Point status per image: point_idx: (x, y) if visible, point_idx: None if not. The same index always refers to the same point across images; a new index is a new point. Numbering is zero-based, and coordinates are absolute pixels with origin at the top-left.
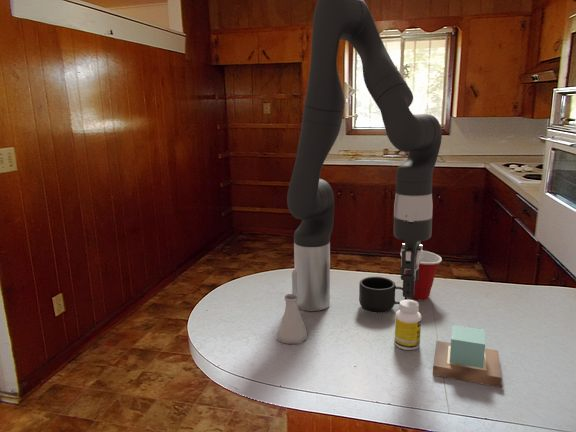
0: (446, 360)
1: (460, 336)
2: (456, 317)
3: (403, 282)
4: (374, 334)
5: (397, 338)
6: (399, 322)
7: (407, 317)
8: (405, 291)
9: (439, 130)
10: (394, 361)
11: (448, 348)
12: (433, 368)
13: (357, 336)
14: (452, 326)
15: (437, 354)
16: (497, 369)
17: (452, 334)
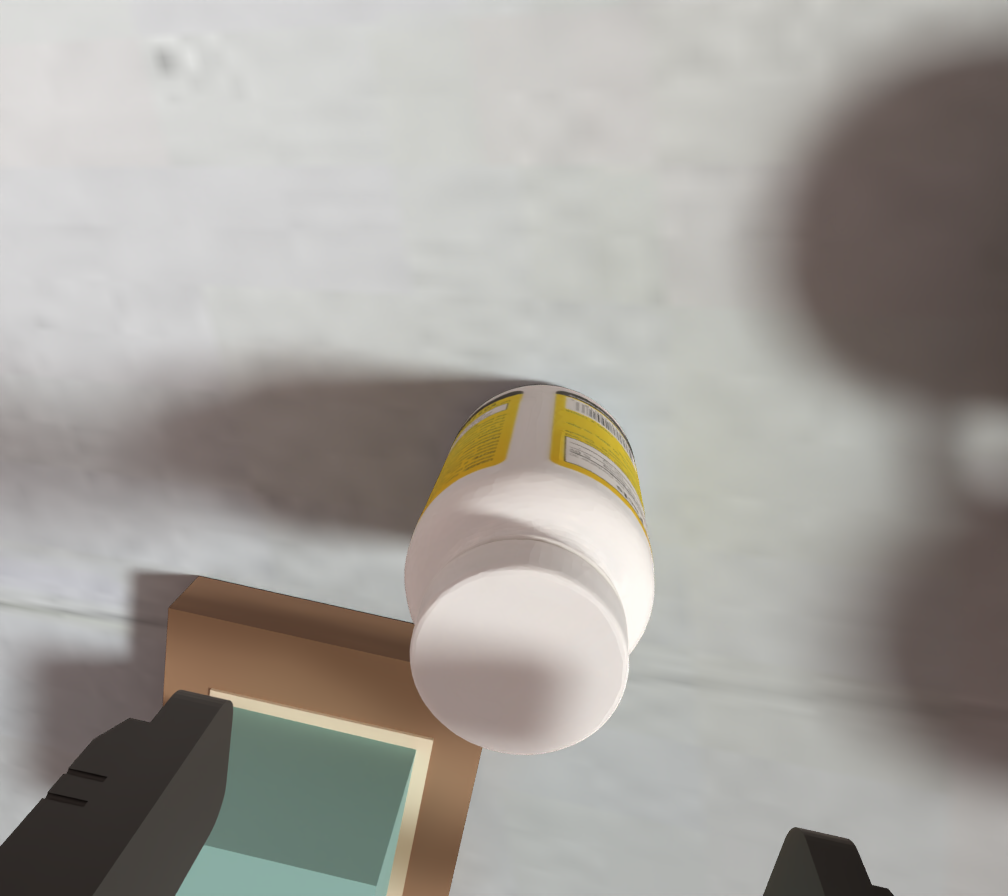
0: (250, 692)
1: (203, 893)
2: (986, 854)
3: (49, 861)
4: (683, 225)
5: (479, 419)
6: (446, 483)
7: (418, 579)
8: (70, 778)
9: None
10: (296, 363)
11: (396, 733)
12: (178, 600)
13: (634, 64)
14: (351, 881)
15: (311, 655)
16: None
17: (218, 852)
